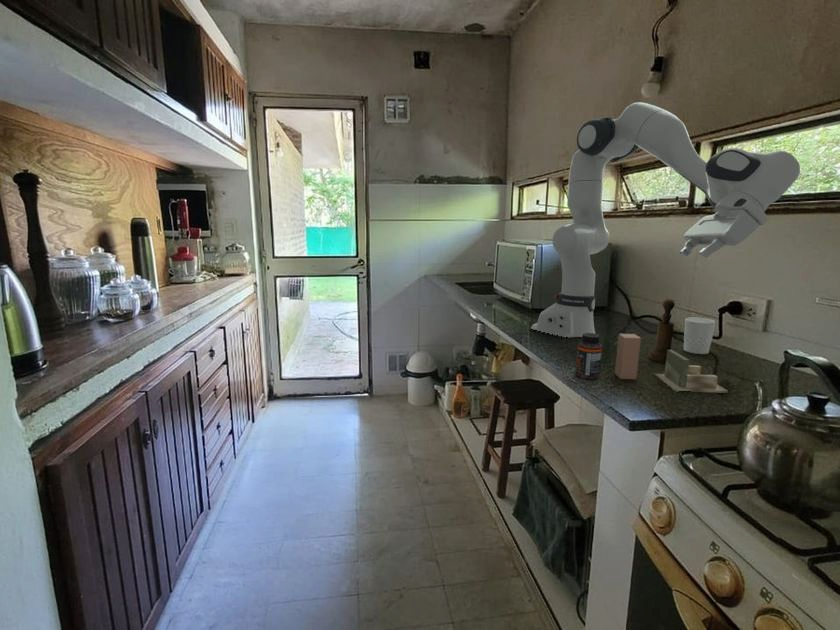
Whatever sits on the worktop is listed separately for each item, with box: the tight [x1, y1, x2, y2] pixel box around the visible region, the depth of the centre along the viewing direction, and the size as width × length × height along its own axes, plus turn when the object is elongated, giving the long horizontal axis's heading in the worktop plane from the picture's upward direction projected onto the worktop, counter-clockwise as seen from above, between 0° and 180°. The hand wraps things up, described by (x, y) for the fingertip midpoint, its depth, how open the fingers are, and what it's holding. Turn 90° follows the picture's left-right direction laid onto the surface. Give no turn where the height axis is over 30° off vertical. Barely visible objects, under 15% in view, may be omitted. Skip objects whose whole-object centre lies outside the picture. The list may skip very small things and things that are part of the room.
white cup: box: [683, 316, 716, 355], centre depth 136 cm, size 8×8×10 cm
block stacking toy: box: [654, 349, 729, 394], centre depth 109 cm, size 12×11×8 cm
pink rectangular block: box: [614, 333, 642, 380], centre depth 114 cm, size 4×4×11 cm
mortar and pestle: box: [649, 298, 675, 364], centre depth 127 cm, size 7×6×18 cm
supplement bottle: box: [575, 333, 603, 380], centre depth 114 cm, size 6×6×11 cm
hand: (691, 255), depth 109 cm, fingers open, 8 cm apart
